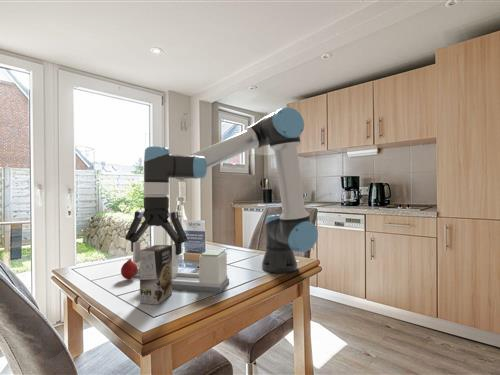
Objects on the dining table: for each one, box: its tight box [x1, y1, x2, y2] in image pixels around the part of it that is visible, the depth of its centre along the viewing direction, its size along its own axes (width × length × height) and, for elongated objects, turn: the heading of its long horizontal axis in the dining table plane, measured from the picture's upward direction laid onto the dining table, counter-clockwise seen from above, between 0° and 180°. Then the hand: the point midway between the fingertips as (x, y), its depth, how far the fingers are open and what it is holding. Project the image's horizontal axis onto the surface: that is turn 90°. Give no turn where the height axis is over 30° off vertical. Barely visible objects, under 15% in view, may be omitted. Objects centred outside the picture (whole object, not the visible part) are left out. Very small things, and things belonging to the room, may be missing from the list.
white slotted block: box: [172, 247, 230, 293], centre depth 101 cm, size 28×10×12 cm, turn 77°
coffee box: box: [139, 244, 173, 306], centre depth 88 cm, size 9×6×16 cm
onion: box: [120, 258, 139, 281], centre depth 106 cm, size 6×6×8 cm
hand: (155, 263), depth 88 cm, fingers open, 13 cm apart
